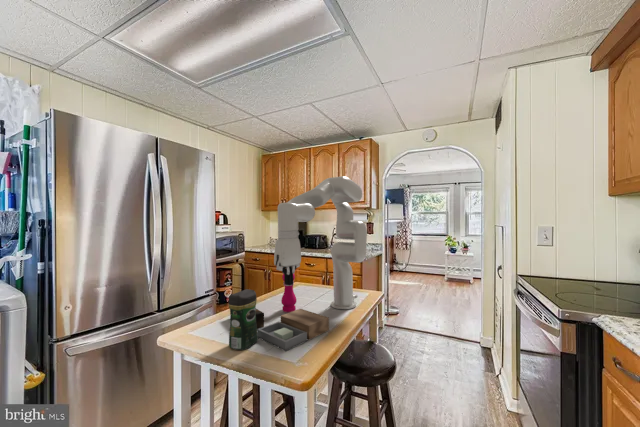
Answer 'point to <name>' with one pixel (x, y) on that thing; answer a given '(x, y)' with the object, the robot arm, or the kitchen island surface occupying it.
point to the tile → (284, 333)
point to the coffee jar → (242, 319)
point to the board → (307, 322)
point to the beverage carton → (259, 319)
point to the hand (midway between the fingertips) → (288, 284)
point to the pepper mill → (288, 297)
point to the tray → (268, 336)
